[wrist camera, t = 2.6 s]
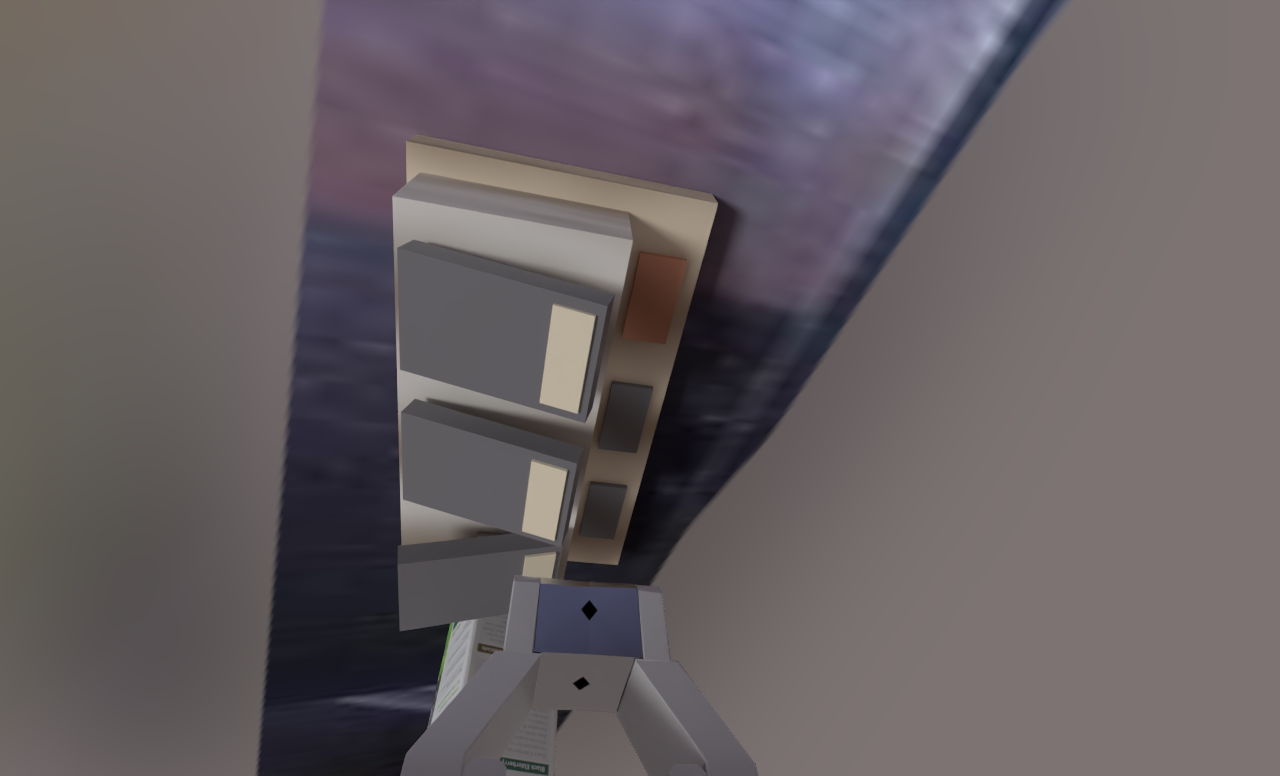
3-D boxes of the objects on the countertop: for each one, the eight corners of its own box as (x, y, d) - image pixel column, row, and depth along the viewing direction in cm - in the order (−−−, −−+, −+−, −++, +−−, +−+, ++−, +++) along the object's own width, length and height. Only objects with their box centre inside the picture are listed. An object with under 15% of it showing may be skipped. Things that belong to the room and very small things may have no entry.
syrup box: (482, 569, 36) (425, 850, 24) (566, 594, 38) (552, 866, 26) (450, 619, 38) (383, 896, 26) (530, 640, 40) (502, 907, 28)
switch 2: (397, 545, 24) (397, 567, 23) (558, 528, 27) (563, 547, 26) (400, 612, 26) (399, 633, 26) (547, 590, 29) (551, 609, 28)
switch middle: (415, 398, 22) (399, 413, 21) (584, 448, 22) (576, 465, 21) (415, 484, 25) (401, 501, 24) (568, 530, 24) (559, 549, 23)
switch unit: (417, 134, 22) (365, 167, 17) (711, 193, 24) (741, 238, 19) (418, 527, 33) (388, 614, 29) (616, 545, 35) (620, 629, 31)
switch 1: (413, 239, 19) (395, 248, 18) (614, 294, 18) (606, 307, 17) (414, 357, 21) (398, 371, 20) (592, 408, 21) (583, 425, 20)
